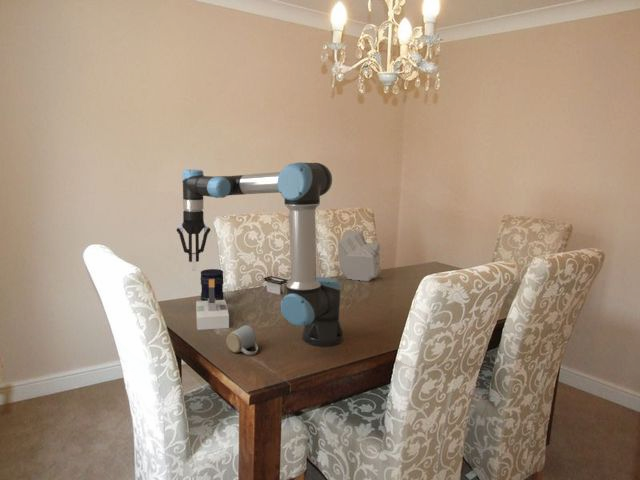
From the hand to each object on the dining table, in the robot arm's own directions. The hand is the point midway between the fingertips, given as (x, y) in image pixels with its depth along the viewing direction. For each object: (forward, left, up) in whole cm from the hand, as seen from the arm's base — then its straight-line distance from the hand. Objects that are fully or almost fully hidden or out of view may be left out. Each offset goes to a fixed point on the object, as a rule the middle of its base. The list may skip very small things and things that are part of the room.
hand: (194, 269), depth 183 cm
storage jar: (+20, -8, -21) cm, 30 cm away
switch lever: (0, -7, -15) cm, 17 cm away
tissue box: (+50, -89, -21) cm, 104 cm away
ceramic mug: (-32, -16, -22) cm, 42 cm away
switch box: (0, -7, -21) cm, 22 cm away
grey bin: (+33, -38, -22) cm, 55 cm away
